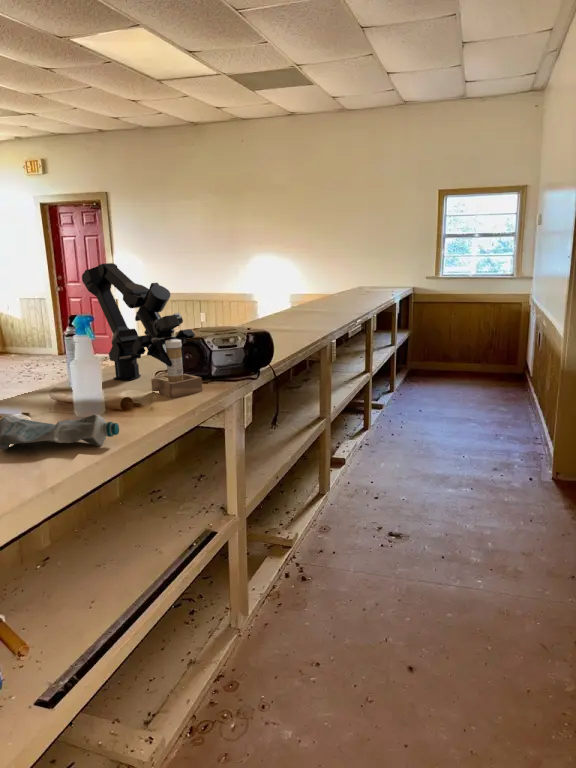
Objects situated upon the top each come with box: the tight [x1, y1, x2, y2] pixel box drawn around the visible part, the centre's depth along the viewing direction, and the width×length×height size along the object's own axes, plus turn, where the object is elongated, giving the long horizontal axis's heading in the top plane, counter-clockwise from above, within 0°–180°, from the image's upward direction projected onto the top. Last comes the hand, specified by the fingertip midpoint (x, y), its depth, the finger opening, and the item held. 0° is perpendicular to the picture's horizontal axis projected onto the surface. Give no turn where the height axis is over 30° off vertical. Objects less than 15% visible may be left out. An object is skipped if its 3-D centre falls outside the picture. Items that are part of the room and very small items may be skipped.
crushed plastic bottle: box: [0, 414, 120, 450], centre depth 117 cm, size 13×7×25 cm
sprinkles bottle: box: [164, 339, 184, 383], centre depth 159 cm, size 5×5×14 cm
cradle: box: [150, 373, 203, 399], centre depth 161 cm, size 10×10×4 cm
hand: (177, 364), depth 159 cm, fingers closed on sprinkles bottle, 4 cm apart
